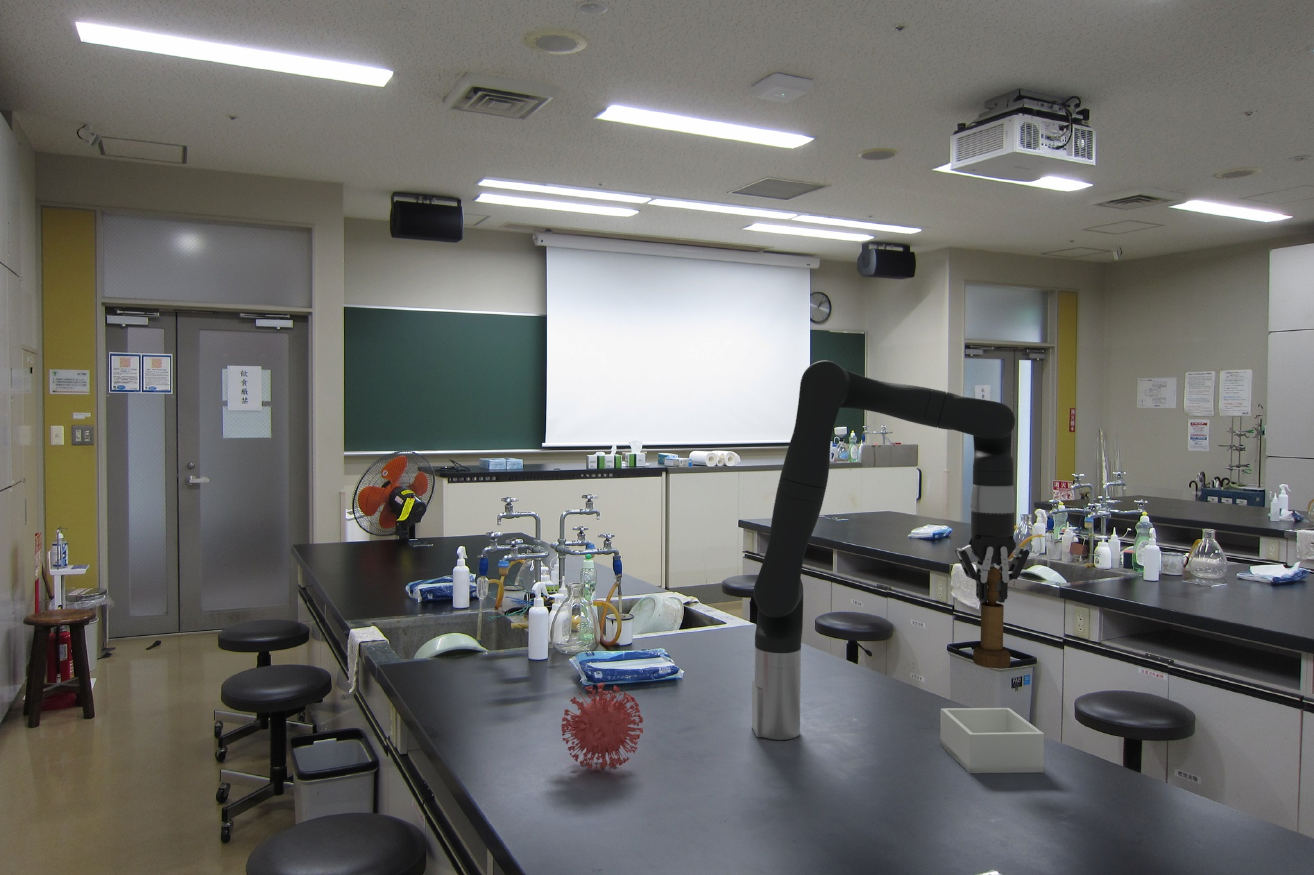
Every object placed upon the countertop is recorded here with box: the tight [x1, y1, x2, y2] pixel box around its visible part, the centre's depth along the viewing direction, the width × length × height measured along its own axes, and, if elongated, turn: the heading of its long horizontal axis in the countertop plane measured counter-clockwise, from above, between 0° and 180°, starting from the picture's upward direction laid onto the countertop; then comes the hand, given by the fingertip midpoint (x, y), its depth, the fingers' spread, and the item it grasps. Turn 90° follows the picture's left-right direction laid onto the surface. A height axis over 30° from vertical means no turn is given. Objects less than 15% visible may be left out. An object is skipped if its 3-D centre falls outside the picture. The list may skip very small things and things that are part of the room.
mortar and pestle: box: [972, 566, 1011, 669], centre depth 159 cm, size 7×6×18 cm
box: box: [939, 707, 1045, 774], centre depth 159 cm, size 14×14×7 cm
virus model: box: [560, 682, 644, 771], centre depth 153 cm, size 15×15×15 cm
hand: (991, 601), depth 159 cm, fingers closed on mortar and pestle, 2 cm apart
